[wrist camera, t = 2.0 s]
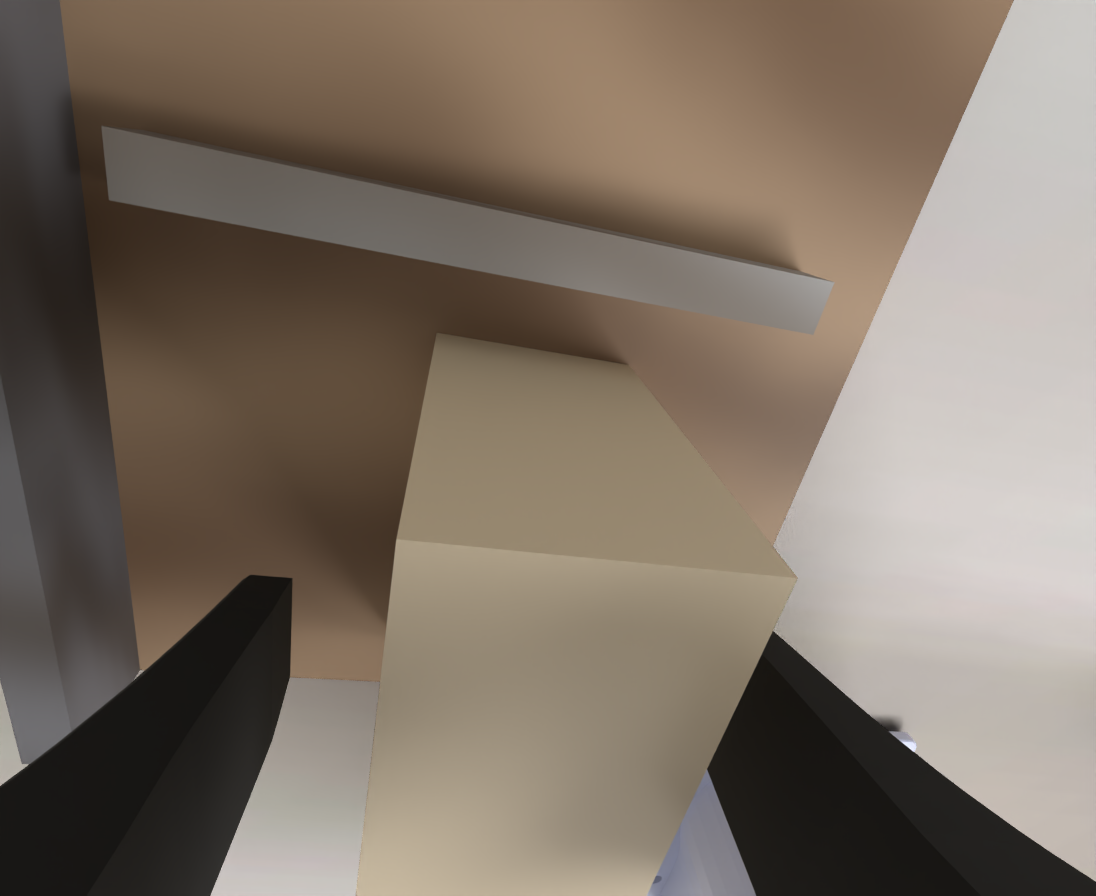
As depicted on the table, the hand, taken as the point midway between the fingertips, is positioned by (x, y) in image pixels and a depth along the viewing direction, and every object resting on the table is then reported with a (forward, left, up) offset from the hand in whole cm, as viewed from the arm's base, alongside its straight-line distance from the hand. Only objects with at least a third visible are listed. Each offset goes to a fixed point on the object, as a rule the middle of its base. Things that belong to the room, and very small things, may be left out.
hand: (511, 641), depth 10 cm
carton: (0, 0, -4) cm, 4 cm away
